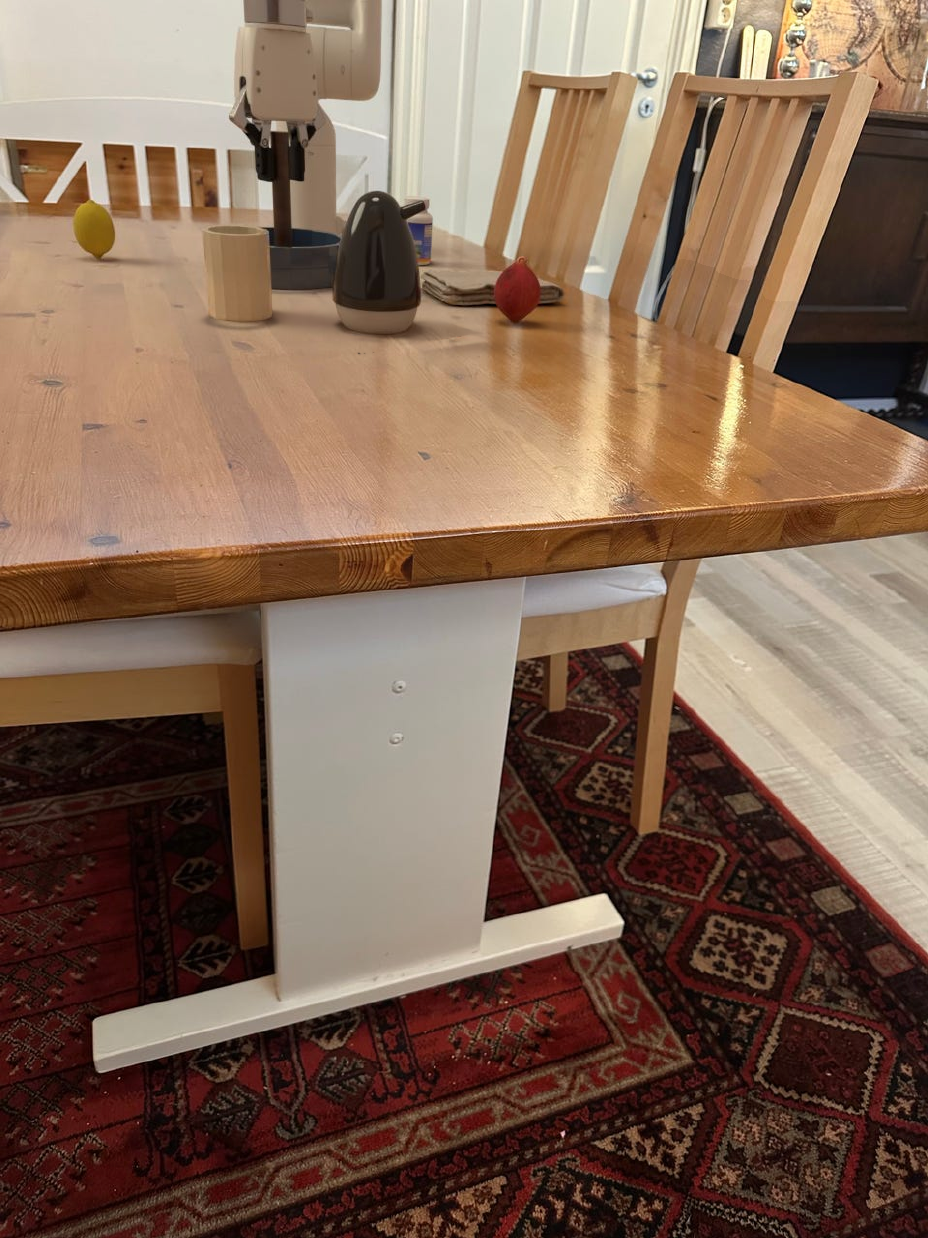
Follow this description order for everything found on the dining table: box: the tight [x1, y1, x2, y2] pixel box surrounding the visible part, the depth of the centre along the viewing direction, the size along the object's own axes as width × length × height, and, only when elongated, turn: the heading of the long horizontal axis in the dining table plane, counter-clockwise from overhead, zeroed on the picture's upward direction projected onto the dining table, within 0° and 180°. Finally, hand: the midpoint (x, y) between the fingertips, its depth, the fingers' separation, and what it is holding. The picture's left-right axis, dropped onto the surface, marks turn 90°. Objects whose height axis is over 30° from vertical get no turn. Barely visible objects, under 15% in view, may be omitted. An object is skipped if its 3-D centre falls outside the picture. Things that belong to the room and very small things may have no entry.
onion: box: [494, 255, 541, 324], centre depth 113 cm, size 6×6×8 cm
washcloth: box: [420, 269, 565, 306], centre depth 126 cm, size 12×18×3 cm, turn 111°
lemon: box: [73, 199, 116, 260], centre depth 130 cm, size 6×6×8 cm
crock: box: [201, 224, 273, 323], centre depth 104 cm, size 7×7×10 cm
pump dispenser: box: [331, 190, 426, 335], centre depth 102 cm, size 10×10×15 cm
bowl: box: [258, 226, 341, 291], centre depth 125 cm, size 18×18×6 cm
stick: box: [269, 130, 292, 247], centre depth 122 cm, size 2×2×18 cm
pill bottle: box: [403, 195, 434, 266], centre depth 144 cm, size 5×5×10 cm
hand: (281, 178), depth 120 cm, fingers open, 4 cm apart
